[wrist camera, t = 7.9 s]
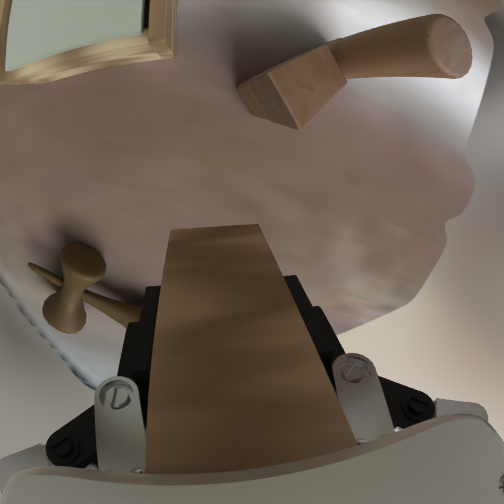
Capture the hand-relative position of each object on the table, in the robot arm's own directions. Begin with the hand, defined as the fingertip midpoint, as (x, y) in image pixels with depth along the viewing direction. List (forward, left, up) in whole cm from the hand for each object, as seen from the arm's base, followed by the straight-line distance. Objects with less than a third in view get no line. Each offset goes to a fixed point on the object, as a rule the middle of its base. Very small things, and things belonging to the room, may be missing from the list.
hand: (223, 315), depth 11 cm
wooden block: (-8, -10, -20) cm, 24 cm away
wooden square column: (0, 0, -4) cm, 4 cm away
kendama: (+13, +12, -21) cm, 28 cm away
